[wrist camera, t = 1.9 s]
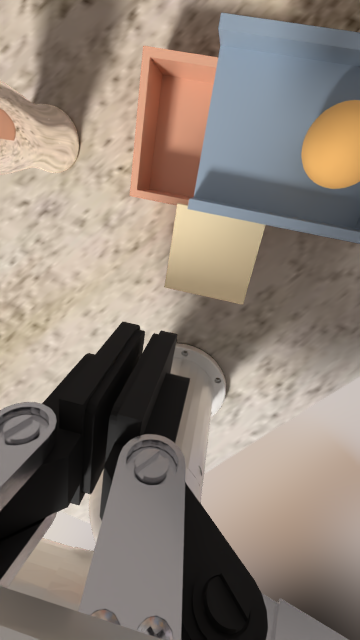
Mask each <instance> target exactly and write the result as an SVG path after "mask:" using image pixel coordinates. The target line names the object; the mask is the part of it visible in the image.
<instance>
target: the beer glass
mask: <svg viewBox="0 0 360 640" xmlns="http://www.w3.org/2000/svg"><path fill="white" fill-rule="evenodd" d="M78 151H79V138H78V133H77V130H76V128H75V125H74V123H73V122H72V120H71V119H70V117H69V116H68V115H67V114H66V113H65V112H64V111H62V110H61V109H60V108H58V107H56V106H53V105H49V104H35V103H33V102H31V101H29V100H28V99H27V98H25V97H24V96H23V95H21V94H20V93H19V92H17V91H16V90H15V89H13V88H12V87H10V86H9V85H8V84H6V83H5V82H3V81H2V80H0V175H4V174H10V173H14V172H18V171H22V170H25V169H29V168H39V169H41V170H44V171H46V172H50V173H61V172H64V171H66V170H68V169H69V168H70V167H71V166H72V165H73V164H74V162H75V160H76V158H77V155H78Z"/></svg>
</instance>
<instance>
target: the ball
mask: <svg viewBox="0 0 360 640" xmlns="http://www.w3.org/2000/svg"><path fill="white" fill-rule="evenodd" d="M301 158H302V164H303V168H304V170H305V172H306V174H307V175H308V177H309V178H310V179H311V180H312V181H313V182H314V183H316V184H318V185H320V186H322V187H325V188H330V189H340V188H346V187H349V186H352V185H354V184H356V183H358V182H360V100H349V101H344V102H341V103H338V104H336V105H334V106H332V107H330V108H329V109H327V110H325V111H324V112H323V113H322V114H321V115H320V116H319V117H318V118H317V119H316V120H315V121H314V122H313V124H312V125H311V126H310V128H309V130H308V131H307V134H306V136H305V138H304V141H303V145H302V152H301Z"/></svg>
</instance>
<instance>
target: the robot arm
mask: <svg viewBox="0 0 360 640" xmlns="http://www.w3.org/2000/svg"><path fill="white" fill-rule="evenodd" d="M144 336H145V331H142V330H140V326H139V325H135V324H131V323H127V322H122V323H121V324H120V325H119V327H118V328H117V329H116V330H115V331H114V333H113V334H112V335H111V336H110V337H109V339H108V340H107V341H106V342H105V343H104V345H103V346H102V347H101V348H100V350H99V351H98V352H97V353H96V354H95V355H94V354H90V353H88V354H86V355H85V356H84V357H83V358H82V359H81V360H80V361H79V363H78V364H77V365H76V366H75V367H74V368H73V369H72V371H71V372H70V373H69V374H68V375H67V376H66V377H65V378H64V380H63V381H62V382H61V383H60V384H59V385H58V386H57V388H56V389H55V390H54V391H53V392H52V393H51V394H50V395H49V397H48V398H47V399H46V400H45V401H44V402H43V403H42V404H40V403H36V402H24V403H18V404H14V405H11V406H8V407H5V408H3V409H2V410H0V640H348V639H346V638H345V637H343V636H341V635H340V634H338V633H337V632H335V631H333V630H332V629H330V628H328V627H327V626H325V625H323V624H322V623H320V622H318V621H317V620H315V619H313V618H311V617H310V616H309V615H307V614H305V613H303V612H302V611H300V610H299V609H297V608H295V607H294V606H292V605H290V604H289V603H287V602H285V601H284V600H282V599H280V600H279V601H278V602H275V601H274V600H272V599H270V598H269V597H267V596H265V595H264V594H262V593H261V591H260V590H259V588H258V586H257V584H256V582H255V580H254V579H253V577H252V576H251V575H250V573H249V572H248V570H247V569H246V568H245V566H244V565H243V563H242V562H241V560H240V559H239V558H238V556H237V555H236V553H235V552H234V551H233V549H232V548H231V546H230V545H229V543H228V542H227V541H226V539H225V538H224V536H223V535H222V533H221V532H220V531H219V529H218V528H217V526H216V525H215V523H214V522H213V521H212V519H211V518H210V516H209V515H208V514H207V512H206V511H205V509H204V508H203V506H202V505H201V493H202V486H203V477H204V469H205V460H206V452H207V443H208V435H209V426H210V418H211V417H212V416H214V415H215V414H216V413H217V412H218V411H219V409H220V408H221V407H222V404H223V402H224V400H225V394H226V382H225V377H224V374H223V372H222V370H221V368H220V367H219V365H218V364H217V362H216V361H215V360H214V359H213V358H212V357H211V356H209V355H208V354H207V353H205V352H204V351H202V350H200V349H198V348H196V347H193V346H190V345H186V344H179V343H176V341H177V334H173V333H169V332H165V331H160V333H159V334H155V333H154V334H153V335H152V337H151V339H150V341H149V343H148V344H147V346H146V348H145V350H144V351H143V344H144ZM142 351H143V353H142ZM85 493H88V494H90V495H89V517H90V523H91V528H92V533H93V536H94V540H95V544H96V546H95V549H94V551H90V550H86V549H82V548H78V547H75V548H73V547H70V546H67V545H64V544H61V543H57V542H54V541H51V540H48V539H44V538H42V537H43V536H44V534H45V533H46V532H47V530H48V529H49V527H50V526H51V524H52V522H53V521H54V519H55V517H56V513H57V512H58V511H60V510H62V509H64V508H67V507H68V506H69V504H70V503H72V504H76V505H80V502H81V500H82V498H83V496H84V494H85Z"/></svg>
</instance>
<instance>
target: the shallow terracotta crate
mask: <svg viewBox="0 0 360 640" xmlns="http://www.w3.org/2000/svg"><path fill="white" fill-rule="evenodd" d="M217 62H218V57H212V56H206V55H199V54H193V53H187V52H180V51H174V50H167V49H161V48H155V47H148V46H143V54H142V65H141V76H140V87H139V98H138V109H137V121H136V132H135V143H134V154H133V165H132V176H131V187H130V196H133V197H138V198H143V199H148V200H153V201H158V202H163V203H168V204H173V205H177V204H178V203H181V204H186V205H188V203H189V199H190V198H192V197H194V192H195V187H196V181H197V175H198V170H199V164H200V158H201V153H202V147H203V141H204V136H205V130H206V124H207V119H208V113H209V107H210V102H211V96H212V91H213V85H214V79H215V74H216V68H217Z"/></svg>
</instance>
